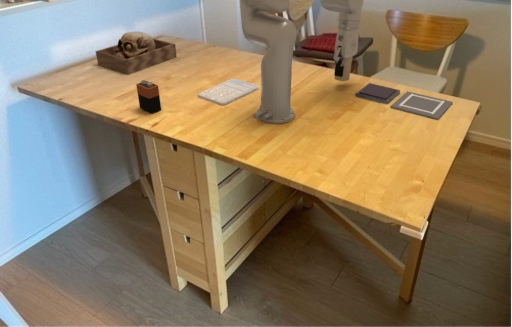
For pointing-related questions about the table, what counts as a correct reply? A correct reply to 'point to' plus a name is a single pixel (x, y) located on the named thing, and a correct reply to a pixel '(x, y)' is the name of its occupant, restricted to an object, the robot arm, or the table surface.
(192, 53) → the table surface
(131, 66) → the wooden tray
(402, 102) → the marked board
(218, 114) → the table surface
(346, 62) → the candle
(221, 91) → the calculator
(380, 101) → the ink pad
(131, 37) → the brown skull
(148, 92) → the battery
